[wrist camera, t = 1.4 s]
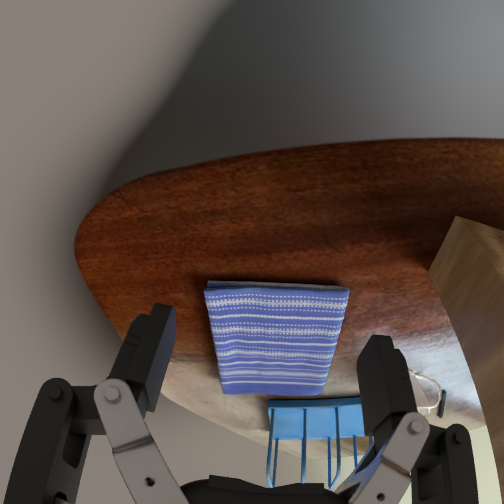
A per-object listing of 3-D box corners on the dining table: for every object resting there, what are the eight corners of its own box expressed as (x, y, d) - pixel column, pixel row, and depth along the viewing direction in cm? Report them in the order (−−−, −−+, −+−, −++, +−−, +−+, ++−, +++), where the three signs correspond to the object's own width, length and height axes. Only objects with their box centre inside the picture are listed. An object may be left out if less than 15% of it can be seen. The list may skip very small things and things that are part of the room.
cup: (388, 368, 45) (396, 410, 39) (441, 360, 44) (453, 400, 37) (380, 389, 49) (386, 428, 43) (429, 381, 48) (438, 418, 41)
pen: (439, 421, 57) (443, 417, 57) (443, 395, 49) (447, 391, 49) (437, 418, 58) (440, 415, 58) (440, 392, 50) (444, 388, 50)
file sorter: (401, 390, 50) (413, 464, 37) (381, 426, 60) (387, 485, 47) (267, 399, 53) (261, 476, 41) (273, 432, 63) (268, 493, 51)
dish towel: (221, 382, 51) (219, 396, 48) (202, 277, 37) (197, 293, 35) (322, 386, 49) (323, 400, 47) (350, 281, 36) (353, 298, 33)
